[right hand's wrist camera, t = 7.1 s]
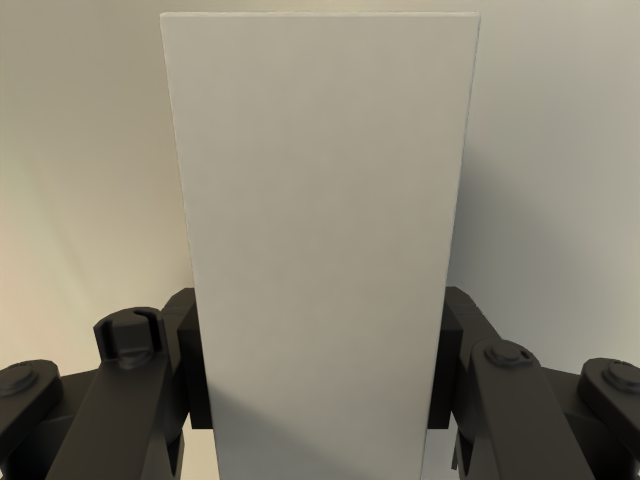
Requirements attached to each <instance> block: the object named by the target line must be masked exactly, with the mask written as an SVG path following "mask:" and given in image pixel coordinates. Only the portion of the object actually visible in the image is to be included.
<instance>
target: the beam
mask: <svg viewBox="0 0 640 480" xmlns="http://www.w3.org/2000/svg"><path fill="white" fill-rule="evenodd" d="M159 20H160V28H161V36H162V43H163V51H164V59H165V66H166V74H167V81H168V89H169V97H170V104H171V112H172V120H173V127H174V135H175V142H176V150H177V158H178V165H179V173H180V180H181V188H182V196H183V203H184V211H185V219H186V226H187V234H188V241H189V249H190V257H191V264H192V272H193V280H194V287H195V295H196V302H197V310H198V318H199V325H200V333H201V340H202V348H203V356H204V363H205V371H206V379H207V386H208V394H209V401H210V409H211V417H212V424H213V432H214V440H215V447H216V455H217V462H218V470H219V478H220V480H420V479H421V472H422V464H423V457H424V449H425V441H426V434H427V426H428V418H429V411H430V403H431V395H432V388H433V380H434V372H435V365H436V357H437V350H438V342H439V334H440V327H441V319H442V311H443V304H444V296H445V288H446V281H447V273H448V265H449V258H450V250H451V243H452V235H453V227H454V220H455V212H456V204H457V197H458V189H459V181H460V174H461V166H462V158H463V151H464V143H465V136H466V128H467V120H468V113H469V105H470V97H471V90H472V82H473V74H474V67H475V59H476V51H477V44H478V36H479V29H480V21H481V16H480V14H479V13H477V12H163V13H161V14H160V17H159Z"/></svg>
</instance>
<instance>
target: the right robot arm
mask: <svg viewBox="0 0 640 480" xmlns="http://www.w3.org/2000/svg"><path fill="white" fill-rule="evenodd" d="M93 329H94V333H95V337H96V341H97V345H98V349H99V353H100V357H101V361H102V362H101V364H100V366H99V368H98V369H95V370H91V371H87V372H82V373H77V374H72V375H67V376H62V377H60V374H59V370H58V367H57V365H56V364H54V363H53V362H52V361H48V360H42V359H40V360H31V361H24V362H20V363H16V364H13V365H11V366H9V367H7V368H5V369H3V370H1V371H0V469H1V472H2V474H3V477H2V478H1V479H0V480H180V477H181V469H182V461H183V453H184V445H185V444H184V436H183V430H182V427H183V425H184V422H185V420H186V418H187V415H188V413H190V419H191V426H192V429H213V424H212V417H211V409H210V401H209V394H208V386H207V379H206V371H205V363H204V356H203V348H202V340H201V333H200V325H199V318H198V310H197V302H196V295H195V288H184V289H183V290H181V291H180V292H178V293H176V294H175V295H173V296H172V297H171V298H170V300H169V301H168V302H167V304H166V305H165V307H164V308H163V309H162V310H161V312H160V311H159V310H158V309H155V308H151V307H134V308H128V309H123V310H120V311H118V312H115V313H112V314H110V315H108V316H106V317H105V318H103V319H101V320H100V321H99V322H98V323H97V324H96V325H95V326H94V327H93ZM451 410H452V413H453V415H454V418H455V420H456V422H457V425H458V430H457V436H456V442H455V448H454V454H453V460H452V467H451V469H454V470H457V464H458V469H459V477H460V480H640V476H639V475H638V473H639V470H640V368H638V367H635V366H633V365H632V364H630V363H627V362H624V361H620V360H615V359H607V358H595V359H589V360H588V361H587V362H585V363H584V365H583V368H582V371H581V375H577V374H572V373H567V372H562V371H557V370H552V369H548V368H544V367H541V365H540V363H539V361H538V360H537V359H536V357H535V356H534V355H533V353H531V352H530V351H528V350H527V349H525V348H524V347H523V346H520V345H518V344H516V343H513V342H511V341H507V340H503V339H502V338H501V337H500V336H499V335H498V333H497V332H496V331H495V329H494V328H493V327H492V325H491V324H490V323H489V321H488V320H487V319H486V317H485V316H484V315H482V312H481V311H480V310H479V308H478V307H476V304H475V303H474V302H473V300H472V299H471V298H470V296H469V295H468V294H466V293H464V292H463V291H461V290H460V289H458V288H457V287H446V288H445V296H444V304H443V311H442V319H441V327H440V334H439V342H438V350H437V357H436V365H435V372H434V380H433V388H432V395H431V403H430V411H429V418H428V426H427V429H448V427H449V421H450V415H451Z"/></svg>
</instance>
